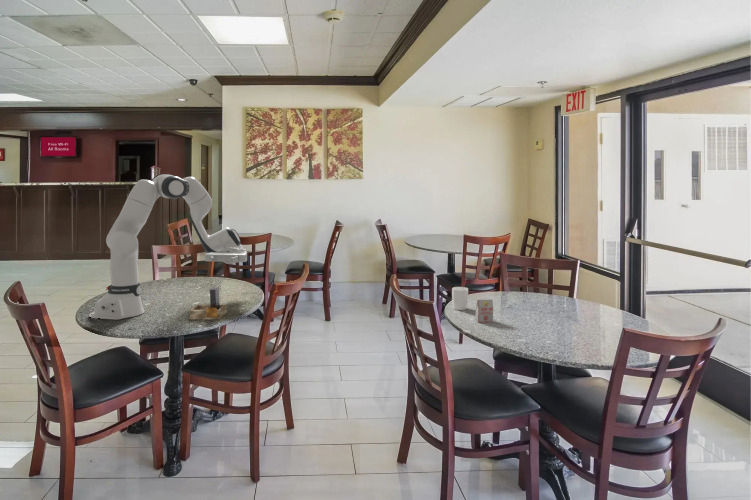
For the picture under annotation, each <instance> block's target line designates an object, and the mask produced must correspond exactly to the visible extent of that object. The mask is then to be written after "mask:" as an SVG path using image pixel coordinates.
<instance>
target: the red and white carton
mask: <svg viewBox="0 0 751 500" xmlns="http://www.w3.org/2000/svg"><path fill="white" fill-rule="evenodd" d="M475 321H476V322H477V323H479V324H480V323H482V324H483V323H493V322H494V302H493V299H477V301H476V307H475Z"/></svg>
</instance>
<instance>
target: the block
mask: <svg viewBox="0 0 751 500" xmlns="http://www.w3.org/2000/svg"><path fill="white" fill-rule="evenodd" d="M219 289H220V288H219V286H212V287H211V288H210V289H209V298H210V299H209V305H210V306H211V308H217V310H219V309H220V306H219V305H220V291H219Z"/></svg>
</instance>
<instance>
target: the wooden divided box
mask: <svg viewBox="0 0 751 500" xmlns="http://www.w3.org/2000/svg"><path fill="white" fill-rule="evenodd" d="M219 306H220V309H219V310H217V308H211V306H210V304H196V305H195V306H193V307H191V309H189V317H188V320H221V319H222V318H223V317H224V316H225V315H226V314H227V313H228V309H227V304H219Z"/></svg>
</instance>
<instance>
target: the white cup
mask: <svg viewBox="0 0 751 500" xmlns="http://www.w3.org/2000/svg"><path fill="white" fill-rule="evenodd" d="M468 296H469V288H468V287H464V286H454V287H452V288H451V302H452V309H453V310H455V311H465V310H467V306H468V299H469V297H468Z"/></svg>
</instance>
